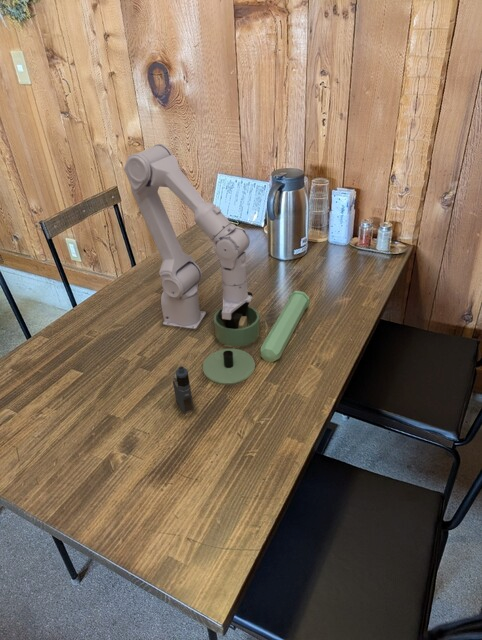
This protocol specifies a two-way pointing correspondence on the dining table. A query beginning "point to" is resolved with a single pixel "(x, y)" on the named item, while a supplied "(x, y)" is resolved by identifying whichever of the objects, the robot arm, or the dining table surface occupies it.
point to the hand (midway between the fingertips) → (237, 327)
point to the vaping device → (183, 390)
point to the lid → (228, 366)
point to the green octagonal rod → (284, 326)
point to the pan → (238, 330)
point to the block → (243, 322)
